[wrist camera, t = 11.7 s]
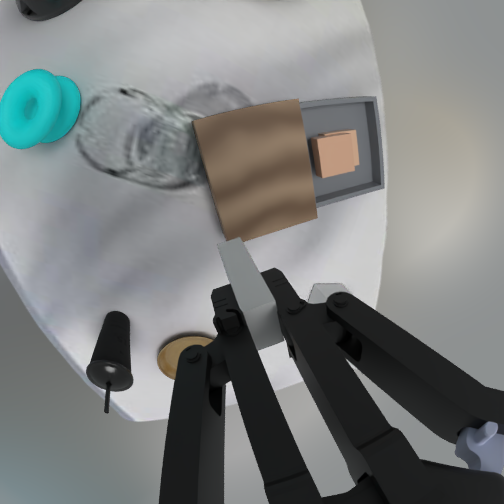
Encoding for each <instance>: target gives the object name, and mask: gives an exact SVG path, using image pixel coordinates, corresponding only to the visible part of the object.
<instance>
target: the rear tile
mask: <svg viewBox="0 0 504 504" xmlns="http://www.w3.org/2000/svg"><path fill="white" fill-rule="evenodd" d="M343 132H344V133H351V138H352V146H353V156H354V166H356V165H359V154H358V144H357V135H356V130H354V129H344V130H336V131H330V132H323V133H318V134H319V136H324V135H330V134H337V133H343Z"/></svg>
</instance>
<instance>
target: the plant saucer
mask: <svg viewBox="0 0 504 504" xmlns="http://www.w3.org/2000/svg"><path fill="white" fill-rule="evenodd" d="M212 341H213V340H212V339H209V338H206V337H201V336H186V337H182V338H179V339H176V340H174V341H172V342H170V343H169V344H167V345H166V346H165V347H164V348H163V349H162V350H161V351H160V353H159V355H158V359H157V363H158V367H159V369H160V370H161V372H162V373H163V374H165V375H166V376H167V377H169V378H171V379H173V380H175V376H176V370H177V365H178V359H179V356H180V353H181V352H182V351H183V350H184V349H185V348H186V347H188V346H191V345H194V344H196V345H202V346H206V345H208V344H209V343H211V342H212Z"/></svg>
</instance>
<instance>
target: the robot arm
mask: <svg viewBox="0 0 504 504" xmlns="http://www.w3.org/2000/svg"><path fill="white" fill-rule="evenodd" d="M80 1H81V0H16V3H17V6H18V9H19V11H20V12H21V14H22V15H23V16H25V17H27V18H28V19H30V20H34V21H41V20H47V19H50V18H53V17H55V16H58V15H60V14H62V13H64V12H65V11H67V10H69V9H70V8H72V7H73V6H75V5H76V4H77V3H79V2H80ZM217 246H218V249H219V252H220V255H221V258H222V261H223V264H224V267H225V270H226V273H227V276H228V279H229V282H230V284H228V285H225V286H222V287H219V288H216V289H213V291H212V294H211V299H212V303H213V307H214V311H215V316H214V318H213V324H214V326H215V328H216V330H217V332H218V335H217V337H216V338H215V339H214V340H213V341H212V342H211V343H209V344H208V345H206V346H202V345H196V344H194V345H191V346H188V347H186V348H185V349H184V350H183V351H182V352H181V353H180V356H179V359H178V365H177V370H176V376H175V382H174V388H173V394H172V400H171V406H170V413H169V420H168V427H167V434H166V441H165V450H164V457H163V467H162V475H161V486H160V496H159V504H224V436H225V433H224V432H225V431H224V430H225V394H226V383H228V382H229V381H231V382H232V385H233V389H234V392H235V395H236V399H237V402H238V405H239V409H240V412H241V415H242V418H243V422H244V425H245V428H246V431H247V434H248V437H249V440H250V443H251V446H252V449H253V452H254V455H255V458H256V461H257V464H258V467H259V470H260V472H261V475H262V478H263V481H264V489H265V493H266V496H267V499H268V502H269V504H504V477H503V476H502V475H501V472H502V469H503V466H504V391H500V390H497V389H493V388H489V387H485V386H483V385H482V384H481V383H479V382H478V381H477V380H475V379H474V378H473V377H471V376H470V375H468V374H467V373H465V372H464V371H462V370H461V369H460V368H458V367H457V366H456V365H454V364H453V363H451V362H450V361H448V360H447V359H446V358H444V357H443V356H441V355H440V354H439V353H437V352H436V351H434V350H433V349H431V348H430V347H428V346H427V345H425V344H424V343H422V342H421V341H420V340H418V339H417V338H415V337H414V336H412V335H411V334H410V333H408V332H407V331H405V330H403V329H402V328H401V327H399V326H398V325H396V324H395V323H393V322H392V321H390V320H389V319H387V318H386V317H384V316H383V315H381V314H380V313H378V312H377V311H376V310H374V309H373V308H371V307H370V306H368V305H367V304H365V303H364V302H362V301H361V300H359V299H358V298H356V297H355V296H353V295H352V294H350V293H347V292H335V293H333V294H331V295H330V296H329V297H328V298H327V300H326V302H324V303H317V304H311V303H307V302H306V301H305V300H303V299H300V298H299V296H298V295H297V293H296V292H295V290H294V289H293V287H292V286H291V285H290V283H289V282H288V280H287V279H286V278H285V276H284V274H283V273H282V271H280V270H278V269H276V268H272V269H270V270H267V271H264V272H261V273H260V272H259V270H258V268H257V267H256V265H255V263H254V261H253V259H252V258H251V256H250V254H249V252H248V250H247V249H246V247H245V245H244V243H243V241H242V240H241V238H240V237H238V238H235V239H232V240H229V241H226V242H223V243H220V244H217ZM283 336H284V337H283ZM284 338H285V340H286V342H287V347H288V352H289V356H290V358H291V357H292V358H293V360H294V362H295V364H296V366H297V368H298V370H299V372H300V374H301V376H302V378H303V380H304V382H305V384H306V386H307V388H308V389H309V391H310V393H311V395H312V397H313V399H314V401H315V403H316V405H317V407H318V409H319V411H320V413H321V415H322V417H323V419H324V420H325V423H326V425H327V426H328V428H329V430H330V432H331V434H332V436H333V438H334V440H335V442H336V444H337V446H338V448H339V450H340V451H341V453H342V455H343V457H344V459H345V461H346V463H347V466H348V470H349V473H350V475H351V477H352V479H353V481H354V482H355V484H356V486H355V487H354V488H352V489H351V490H350V491H348V492H346V493H342V494H337V495H332V496H327V497H322V498H321V496H320V493H319V492H318V490H317V487H316V485H315V483H314V481H313V479H312V477H311V474H310V472H309V471H308V469H307V467H306V464H305V462H304V460H303V458H302V456H301V453H300V451H299V449H298V447H297V445H296V442H295V440H294V438H293V435H292V433H291V431H290V429H289V426H288V424H287V421H286V419H285V417H284V414H283V412H282V410H281V407H280V405H279V402H278V400H277V398H276V395H275V393H274V390H273V388H272V386H271V383H270V381H269V378H268V376H267V373H266V371H265V368H264V366H263V364H262V361H261V359H260V356H259V354H258V350H261V349H264V348H266V347H269V346H272V345H275V344H277V343H280V342H283V341H284ZM346 359H347V360H348V361H349V362H350V363H351V364H353V365H354V366H355V367H356V368H357V369H358V370H360V371H361V372H362V373H363V374H365V376H367V377H368V378H369V379H370V380H371V381H372V382H374V383H375V384H376V385H377V386H378V387H379V388H381V389H382V390H383V391H384V392H385V393H387V394H388V395H389V396H390V397H391V398H393V399H394V400H395V401H396V402H397V403H399V404H400V405H401V406H402V407H403V408H404V409H406V410H407V411H408V412H409V413H410V414H412V415H413V416H414V417H415V418H416V419H418V420H419V421H420V422H421V423H423V424H424V425H425V426H426V427H427V428H429V429H430V430H431V431H432V432H433V433H435V434H436V435H438V436H439V437H441V438H442V439H444V440H446V441H448V442H450V443H453V444H456V450H455V455H456V456H457V457H459V458H461V459H462V460H464V461H465V462H466V463H467V464H468V467H469V469H466V468H460V467H455V466H449V465H444V464H440V463H436V462H431V461H427V460H422V459H419V457H418V456H417V454H416V453H415V451H414V450H413V448H412V447H411V445H410V443H409V442H408V440H407V439H406V438H405V436H404V435H403V433H402V432H401V431H400V430H399V429H397V428H394V427H392V426H390V424H389V423H388V422H387V420H386V419H385V417H384V416H383V414H382V413H381V411H380V409H379V408H378V406H377V405H376V404H375V402H374V400H373V399H372V397H371V396H370V394H369V393H368V391H367V390H366V388H365V387H364V386H363V384H362V382H361V381H360V379H359V378H358V377H357V375H356V373H355V372H354V370H353V369H352V367H351V366H350V364H349V363H348V361H347V360H346Z"/></svg>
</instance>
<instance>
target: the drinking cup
mask: <svg viewBox="0 0 504 504" xmlns="http://www.w3.org/2000/svg"><path fill="white" fill-rule="evenodd" d="M86 374H87V377H88V378H89V380H90V381H91V382H92V383H93V384H95V385H96V386H98V387H100V388H102V389H105V390H106V395H105V408H104V412H105V413H109V402H110V391H115V392H118V391H124V390H127V389H129V388H130V387H131V386H132V384H133V376H132V374H131V358H130V321H129V319H128V317H127V316H126V315H125V314H123V313H121V312H118V311H113V312H110V313H108V314H107V316H106V318H105V321H104V323H103V326H102V329H101V332H100V334H99V337H98V340H97V343H96V346H95V349H94V352H93V355H92V358H91V361H90V364H89V365H88V366H87V369H86Z"/></svg>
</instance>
